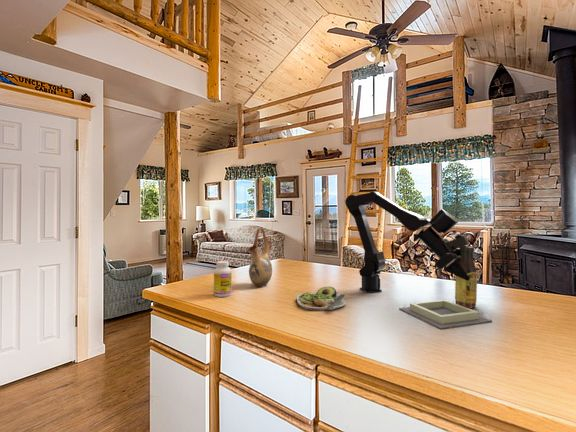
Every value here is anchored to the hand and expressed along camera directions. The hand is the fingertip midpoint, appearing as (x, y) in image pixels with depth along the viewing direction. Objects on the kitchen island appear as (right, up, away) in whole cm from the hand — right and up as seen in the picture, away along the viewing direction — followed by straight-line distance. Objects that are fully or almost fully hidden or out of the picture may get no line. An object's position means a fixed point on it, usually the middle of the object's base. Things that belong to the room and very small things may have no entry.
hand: (470, 277), depth 105 cm
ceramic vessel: (-72, -10, +32) cm, 79 cm away
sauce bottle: (-1, -10, +1) cm, 10 cm away
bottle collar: (-13, -10, -8) cm, 18 cm away
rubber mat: (-13, -10, -8) cm, 18 cm away
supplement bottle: (-85, -10, +17) cm, 88 cm away
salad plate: (-49, -10, +7) cm, 50 cm away
